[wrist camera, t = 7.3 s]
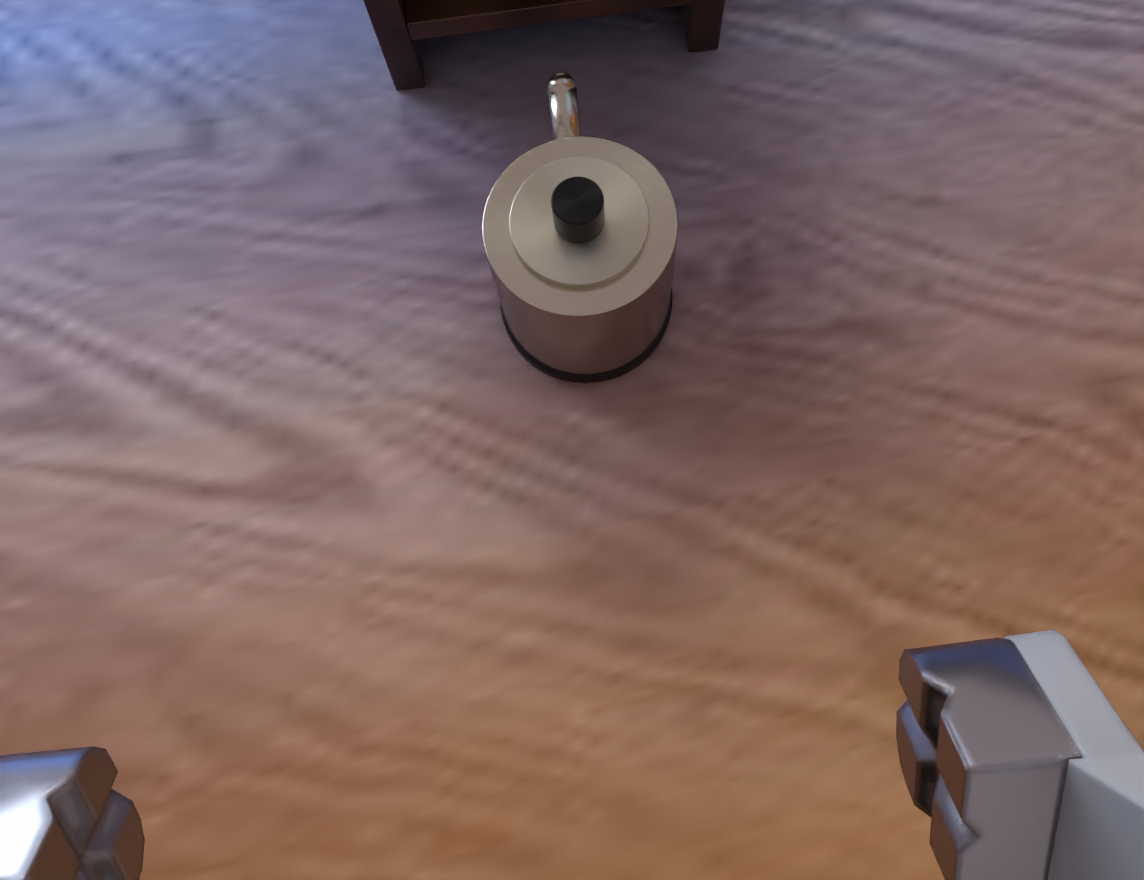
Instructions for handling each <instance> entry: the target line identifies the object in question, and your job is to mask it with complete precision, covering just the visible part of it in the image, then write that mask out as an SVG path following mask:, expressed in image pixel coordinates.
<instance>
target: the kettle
mask: <svg viewBox="0 0 1144 880" xmlns="http://www.w3.org/2000/svg"><path fill="white" fill-rule="evenodd" d="M547 94H548V102H549V111H550V119H551V127H552V135H553V140H552V141H549V142H546V143H543V144H541V145H539V146H537V147H534V148H532V149H531V150H529V151H527V152H526V153H524V154H522V155H521V156H520V157H519V158H517V159H516V160H515V161H513V162H512V163H511V164H510V165H509V166H508V167H507V168H506V169H505V170H504V172H503V173H502V174H501V175H500V177H499V178H498V179H497V181H496V182H495V184H494V186H493V188H492V189H491V191H490V194H489V196H488V199H487V201H486V204H485V208H484V212H483V220H482V238H483V244H484V249H485V252H486V256H487V259H488V262H489V266H490V269H491V272H492V275H493V279H494V282H495V285H496V289H497V292H498V295H499V299H500V302H501V312H502V318H503V321H504V324H505V327H506V330H507V333H508V335H509V337H510V339H511V341H512V343H513V344H514V346H515V347H516V349H517V350H518V351H519V353H520V354H521V355H522V356H523V357H524V358H525V359H526V360H527V361H528V362H529V363H531V364H532V365H533V366H534V367H536V368H538V369H539V370H541V371H542V372H544V373H546V374H548V375H550V376H553V377H556V378H559V379H562V380H566V381H571V382H582V383H589V382H599V381H605V380H609V379H612V378H615V377H618V376H621V375H623V374H625V373H627V372H629V371H631V370H632V369H634V368H635V367H637V366H639V365H640V364H641V363H642V362H643V361H645V360H646V359H647V358H648V357H649V356H650V355H651V354H652V352H653V351H654V350H655V349H656V347H657V346H658V345H659V343H660V342H661V340H662V338H663V336H664V334H665V332H666V329H667V326H668V324H669V320H670V315H671V309H672V277H673V268H674V260H675V251H676V242H677V232H678V217H677V210H676V205H675V201H674V198H673V195H672V193H671V190H670V188H669V186H668V185H667V183H666V181H665V179H664V178H663V177H662V175H661V174H660V173H659V171H658V170H657V169H656V168H655V167H654V166H653V165H652V164H651V163H650V162H649V161H648V160H647V159H646V158H644V157H643V156H642V155H641V154H639V153H638V152H636V151H634V150H633V149H631V148H629V147H627V146H625V145H622V144H620V143H618V142H615V141H611V140H608V139H604V138H598V137H588V136H582V134H581V125H580V116H579V107H578V97H577V88H576V82H575V80H574V79H573V77H572V76H571V75H570V74H568V73H566V72H557V73H555V74H553V75H552V76H551V77H550V79H549V80H548V83H547Z"/></svg>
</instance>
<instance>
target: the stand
mask: <svg viewBox="0 0 1144 880" xmlns="http://www.w3.org/2000/svg"><path fill="white" fill-rule="evenodd" d="M364 3H365V6H366V8H367V11H368V14H369V17H370V19H371V22H372V25H373V28H374V30H375V33H376V36H377V38H378V41H379V44H380V47H381V49H382V52H383V55H384V57H385V60H386V63H387V66H388V68H389V71H390V74H391V76H392V79H393V82H394V85H395V87H396V90H397V91H399V90H406V89H414V88H422V87H426V82H425V71H424V60H423V49H422V39H427V38H435V37H442V36H450V35H458V34H465V33H473V32H481V31H488V30H496V29H504V28H511V27H519V26H527V25H534V24H542V23H550V22H557V21H565V20H573V19H580V18H588V17H596V16H603V15H611V14H619V13H626V12H634V11H642V10H649V9H657V8H665V7H672V6H680V5H681V8H682V14H683V20H684V26H685V32H686V38H687V44H688V50H689V52H696V51H704V50H712V49H717V48H718V45H719V38H720V31H721V24H722V17H723V10H724V3H725V0H364Z"/></svg>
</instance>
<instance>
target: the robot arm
mask: <svg viewBox="0 0 1144 880" xmlns="http://www.w3.org/2000/svg"><path fill="white" fill-rule="evenodd" d="M899 681H900V684H901V686H902V688H903V690H904V693H905V695H906V697H907V701H906V702H905V703H904V704H903V705H902V706H901V707H900V708H899V710H898V711H897V721H896V738H897V745H898V753H899V760H900V765H901V768H902V772H903V775H904V779H905V782H906V785H907V788H908V790H909V793H910V795H911V798H912V801H913V803H914V805H915V806H916V807H918V808H919V809H920V810H922V811H923V812H925V813H926V814H927V815H929V816H930V817H931V830H930V845H931V848H932V850H933V852H934V855H935V857H936V860H937V862H938V864H939V867H940V869H941V872H942V874H943V876H944V879H945V880H1144V750H1143V749H1142V748H1141V746H1140V745H1139V743H1138V742H1137V740H1136V739H1135V737H1134V736H1133V735H1132V733H1131V732H1130V730H1129V729H1128V727H1127V726H1126V724H1125V723H1124V721H1123V720H1122V719H1121V717H1120V716H1119V714H1118V713H1117V711H1116V710H1115V708H1114V707H1113V706H1112V704H1111V703H1110V701H1109V700H1108V698H1107V697H1106V695H1105V694H1104V693H1103V691H1102V690H1101V688H1100V687H1099V685H1098V684H1097V682H1096V681H1095V680H1094V678H1093V677H1092V675H1091V674H1090V672H1089V671H1088V669H1087V668H1086V667H1085V665H1084V664H1083V662H1082V661H1081V659H1080V658H1079V656H1078V655H1077V653H1076V652H1075V651H1074V649H1073V648H1072V646H1071V645H1070V643H1069V642H1068V640H1067V639H1066V638H1065V636H1064V635H1062V634H1060V633H1059V632H1057V631H1056V630H1049V631H1042V632H1034V633H1027V634H1019V635H1012V636H1005V637H1003V638H991V639H983V640H975V641H967V642H960V643H952V644H944V645H936V646H928V647H921V648H913V649H905V650H904V651H903V653H902V656H901V658H900V665H899ZM117 773H118V770H117V768H116V767H115V765H114V763H113V761H112V759H111V757H110V756H109V754H108V752H107V750H106V749H104V748H98V747H84V748H73V749H62V750H52V751H41V752H31V753H20V754H9V755H0V880H139V878H140V875H141V872H142V866H143V854H144V841H145V839H144V834H143V829H142V823H141V818H140V816H139V814H138V812H137V810H136V807H135V805H134V803H133V801H131V800H130V799H128V798H126V797H125V796H123V795H121V794H120V793H118V792H116V791H115V790H113V789H111V787H112V785H113V783H114V780H115V778H116V775H117Z"/></svg>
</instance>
